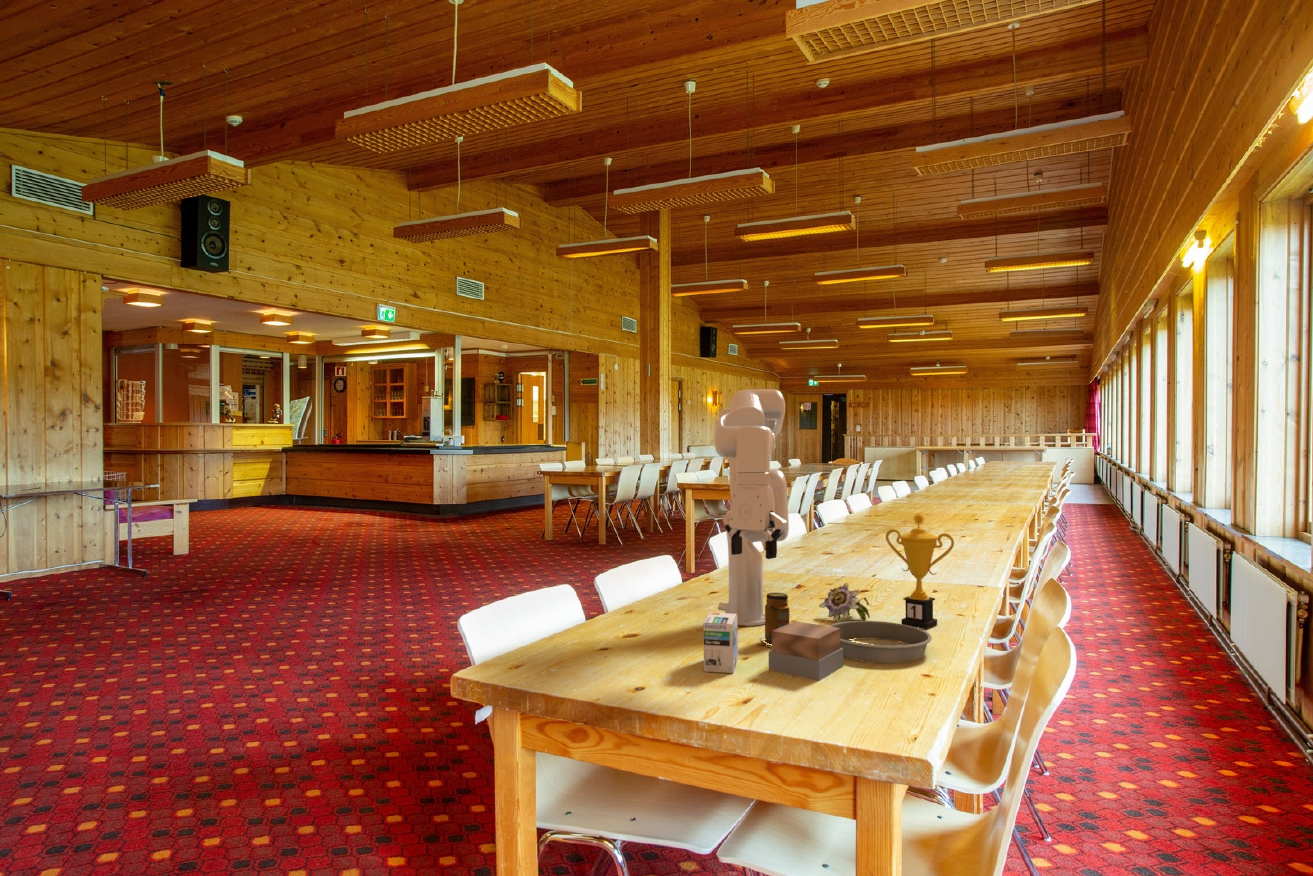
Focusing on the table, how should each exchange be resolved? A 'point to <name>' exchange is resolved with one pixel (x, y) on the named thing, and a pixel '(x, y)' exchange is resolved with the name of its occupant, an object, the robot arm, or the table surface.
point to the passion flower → (844, 603)
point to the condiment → (775, 614)
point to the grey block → (806, 664)
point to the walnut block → (806, 640)
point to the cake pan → (887, 632)
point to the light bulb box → (720, 642)
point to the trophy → (919, 571)
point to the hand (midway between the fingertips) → (753, 556)
